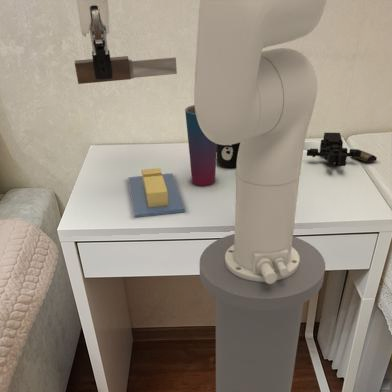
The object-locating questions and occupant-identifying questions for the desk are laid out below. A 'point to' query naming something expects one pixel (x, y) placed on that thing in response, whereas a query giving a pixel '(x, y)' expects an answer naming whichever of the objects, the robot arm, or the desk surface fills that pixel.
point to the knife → (126, 69)
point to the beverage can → (227, 155)
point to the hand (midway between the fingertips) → (104, 75)
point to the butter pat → (151, 173)
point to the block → (366, 156)
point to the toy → (333, 150)
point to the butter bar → (155, 191)
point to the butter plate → (141, 201)
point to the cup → (200, 151)
